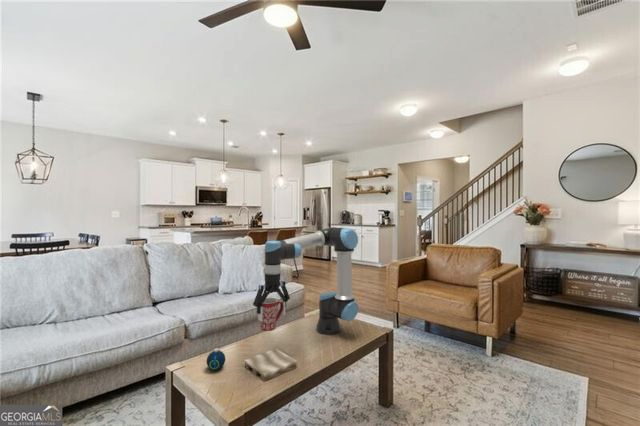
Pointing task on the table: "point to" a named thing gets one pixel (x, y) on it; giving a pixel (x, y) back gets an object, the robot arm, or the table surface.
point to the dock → (270, 364)
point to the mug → (270, 314)
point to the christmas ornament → (215, 359)
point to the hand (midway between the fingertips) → (271, 317)
